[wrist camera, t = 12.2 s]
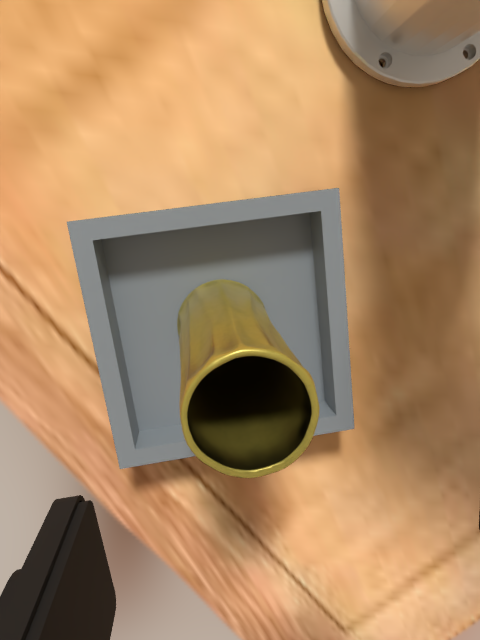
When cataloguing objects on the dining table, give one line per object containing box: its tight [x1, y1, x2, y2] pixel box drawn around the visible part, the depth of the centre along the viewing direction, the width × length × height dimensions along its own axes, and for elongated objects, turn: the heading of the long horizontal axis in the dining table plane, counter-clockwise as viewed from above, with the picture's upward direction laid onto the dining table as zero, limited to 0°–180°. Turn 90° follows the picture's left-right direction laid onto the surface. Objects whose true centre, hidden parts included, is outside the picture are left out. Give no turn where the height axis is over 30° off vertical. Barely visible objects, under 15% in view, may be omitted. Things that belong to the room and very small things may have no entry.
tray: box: [67, 188, 354, 469], centre depth 29 cm, size 16×16×4 cm
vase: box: [177, 279, 320, 478], centre depth 23 cm, size 6×6×14 cm
